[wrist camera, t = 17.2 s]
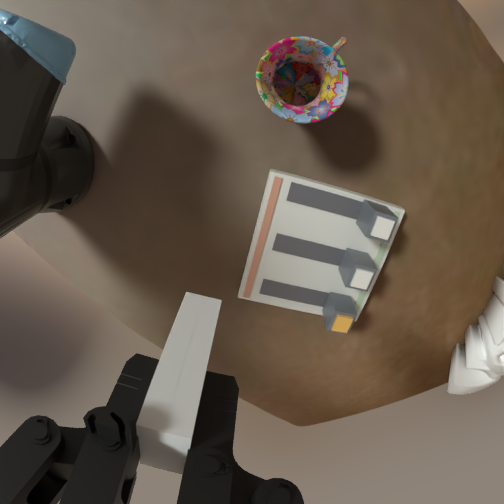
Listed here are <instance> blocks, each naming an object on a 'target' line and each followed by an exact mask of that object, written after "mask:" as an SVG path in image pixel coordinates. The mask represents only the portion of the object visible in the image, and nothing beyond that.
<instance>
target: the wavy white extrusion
mask: <svg viewBox="0 0 504 504" xmlns="http://www.w3.org/2000/svg"><path fill="white" fill-rule="evenodd" d="M503 274H504V263H503ZM492 290H493V292H494V294H493V295H492V297H491V298H490V300H489V302H488V303H487V305H486V307H485V309H484V311H483V315H481V316H480V317H478V325H475V324H470V325H469V326H468V327H467V329H466V330H465V345H461V344H458V343H457V344H456V346H455V347H454V349H453V350H452V355H451V365H450V373H449V381H448V388H447V393H449V394H454V395H463V394H469V393H473V392H477V391H479V390H482V389H484V388H486V387H488V386H490V385H492V384H494V383H496V382H497V381H498V380H500V377H501V375H504V278H502V277H497V276H496V278H495V280H494V282H493V285H492Z"/></svg>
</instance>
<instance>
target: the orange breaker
mask: <svg viewBox="0 0 504 504" xmlns="http://www.w3.org/2000/svg"><path fill="white" fill-rule="evenodd" d="M322 313H323V317H324V322H325V326H326V330H327V331H333V332H339V333H344V334H348V333H349V331H350V329H351V327H352V325H353V323H354V321H355V319H356V317H357V312H356V310H355V307H354V304H353V302H352V299H351V296H348V295H343V294H339V293H334V292H330V293H329V295H328V297H327V300H326V302H325V305H324V307H323V309H322Z"/></svg>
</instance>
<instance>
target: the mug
mask: <svg viewBox="0 0 504 504" xmlns="http://www.w3.org/2000/svg"><path fill="white" fill-rule="evenodd" d="M346 43H347V39H346V38H344V37H342V38H341V39H340V40H339V41H338V42H337V43H335V44H334V45H333V46H332V47H330V46H329V45H327V44H325V43H324V42H322V41H319V40H317V39H314V38H310V37H301V36H300V37H290V38H286V39H283V40H281V41H279V42H277V43H275V44H274V45H272V46H271V47H270V48H269V49H268V50H267V51H266V52H265V53H264V54H263V56H262V57H261V59H260V61H259V63H258V66H257V70H256V85H257V89H258V92H259V95H260V97H261V99H262V100H263V102H264V103H265V105H266V106H267V107H268V108H269V109H270V110H271V111H272V112H273V113H275V114H276V115H278V116H279V117H281V118H283V119H285V120H288V121H291V122H295V123H314V122H318V121H321V120H324V119H326V118H328V117H330V116H331V115H332V114H334V113H335V112H336V111H337V110H338V109H339V108H340V107H341V105H342V104H343V102H344V100H345V98H346V95H347V92H348V87H349V78H348V72H347V69H346V66H345V64H344V62H343V60H342V59H341V57H340V56H339V55H338V53H337V51H338V50H339V49H340V48H341V47H342V46H344V45H345V44H346Z"/></svg>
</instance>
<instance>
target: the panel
mask: <svg viewBox="0 0 504 504" xmlns="http://www.w3.org/2000/svg"><path fill="white" fill-rule="evenodd" d="M404 212H405V210H404V209H403V208H401V207H400V206H397V205H394V204H391V203H388V202H385V201H382V200H379V199H376V198H373V197H370V196H366V195H363V194H360V193H357V192H354V191H350V190H347V189H344V188H340V187H337V186H333V185H330V184H327V183H323V182H320V181H316V180H312V179H309V178H305V177H301V176H298V175H294V174H290V173H286V172H282V171H278V170H274V169H270V172H269V176H268V179H267V183H266V187H265V191H264V195H263V199H262V203H261V206H260V210H259V214H258V218H257V222H256V226H255V230H254V234H253V237H252V241H251V245H250V249H249V253H248V257H247V261H246V265H245V268H244V272H243V276H242V280H241V284H240V288H239V292H238V298H242V299H247V300H251V301H256V302H260V303H265V304H269V305H274V306H279V307H283V308H288V309H293V310H298V311H303V312H308V313H313V314H318V315H323V313H322V309H323V307H324V305H325V302H326V300H327V297H328V295H329V293H330V292H334V293H339V294H343V295H348V296H351V299H352V302H353V304H354V307H355V310H356V312H357V317H356V319H355V322H356V321H357V319H358V317H359V315H360V313H361V311H362V309H363V307H364V305H365V303H366V301H367V299H368V296H369V294H370V292H371V290H372V288H373V286H374V284H375V281H376V279H377V277H378V275H379V273H380V270H381V268H382V266H383V264H384V261H385V259H386V257H387V254H388V252H389V250H390V247H391V245H392V242H393V240H394V237H395V235H396V233H397V230H398V228H399V225H400V222H401V220H402V217H403V215H404Z"/></svg>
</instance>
